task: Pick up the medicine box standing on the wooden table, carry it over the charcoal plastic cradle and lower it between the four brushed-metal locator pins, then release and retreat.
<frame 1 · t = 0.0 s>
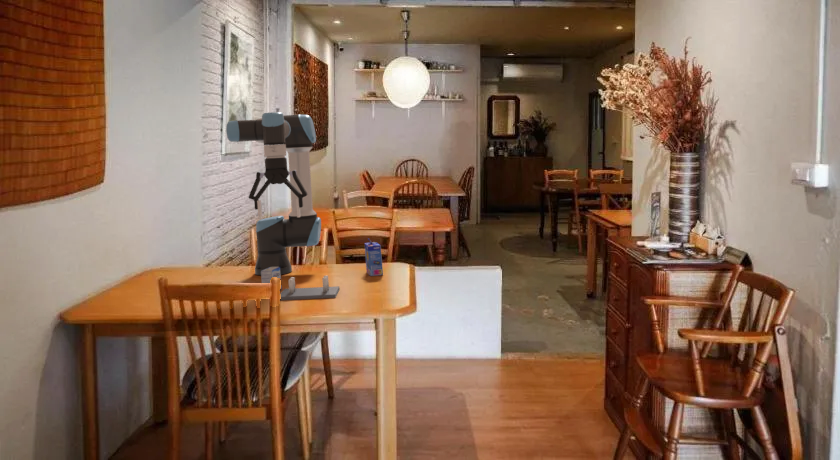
hand: (279, 218, 274), 28 cm above the table, fingers open, 13 cm apart
medicine box: (272, 292, 287), on the table
ink cartridge box: (374, 274, 313), on the table
cradle: (309, 294, 278), on the table
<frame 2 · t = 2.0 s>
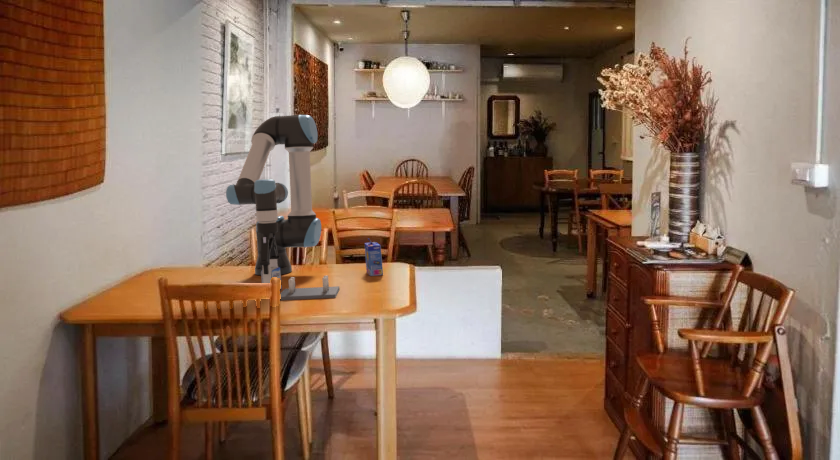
hand: (270, 279, 286), 4 cm above the table, fingers open, 13 cm apart
nothing on the table moved.
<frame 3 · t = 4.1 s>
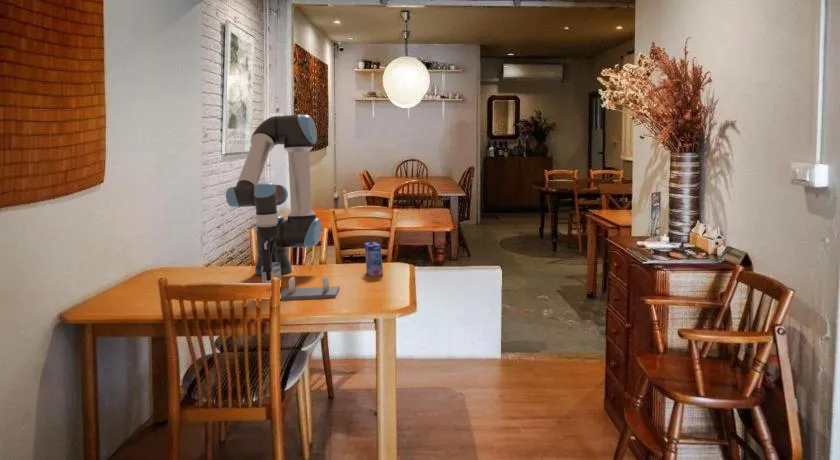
hand: (272, 286, 287), 2 cm above the table, fingers closed on medicine box, 8 cm apart
medicine box: (272, 287, 287), point 1 cm above the table, touching gripper
everything else where it was.
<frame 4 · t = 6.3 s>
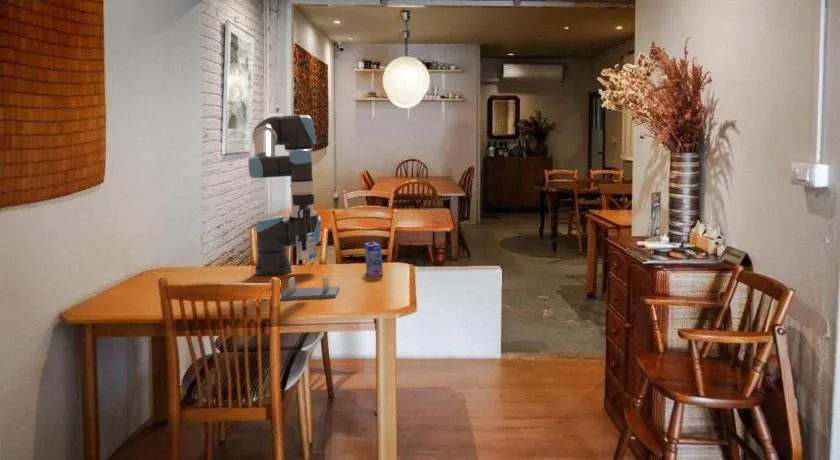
hand: (307, 257, 276), 14 cm above the table, fingers closed on medicine box, 8 cm apart
medicine box: (307, 258, 276), point 13 cm above the table, touching gripper
everything else where it was.
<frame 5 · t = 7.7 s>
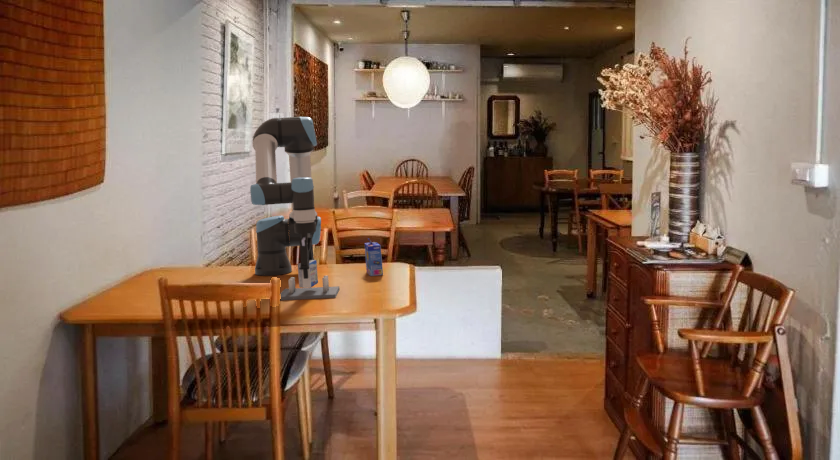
hand: (308, 284, 277), 4 cm above the table, fingers closed on medicine box, 8 cm apart
medicine box: (308, 286, 277), point 3 cm above the table, touching gripper
everything else where it was.
when the fingers open (3 cm above the table, at t = 8.6 s): medicine box drops 2 cm, resting on cradle.
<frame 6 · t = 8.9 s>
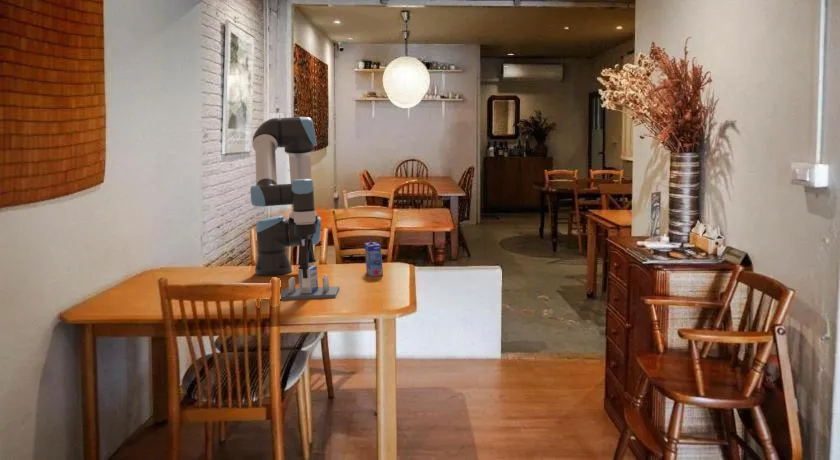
hand: (308, 283, 277), 4 cm above the table, fingers open, 11 cm apart
medicine box: (309, 292, 278), point 1 cm above the table, touching cradle
everything else where it was.
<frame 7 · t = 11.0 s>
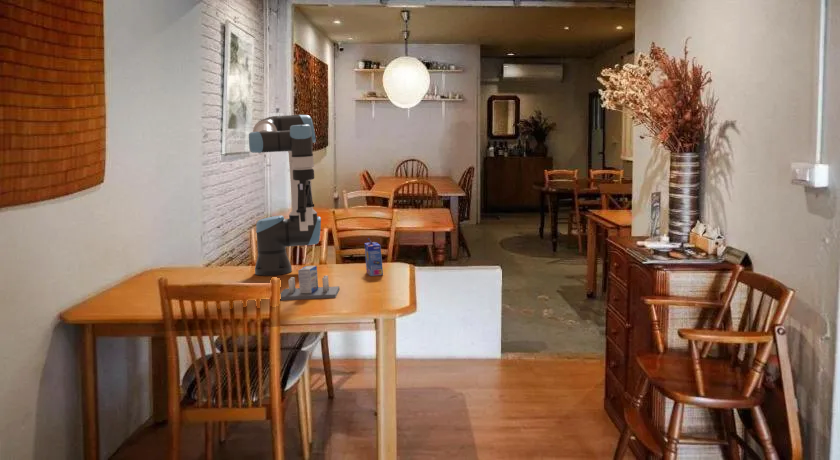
hand: (306, 227, 280), 23 cm above the table, fingers open, 13 cm apart
nothing on the table moved.
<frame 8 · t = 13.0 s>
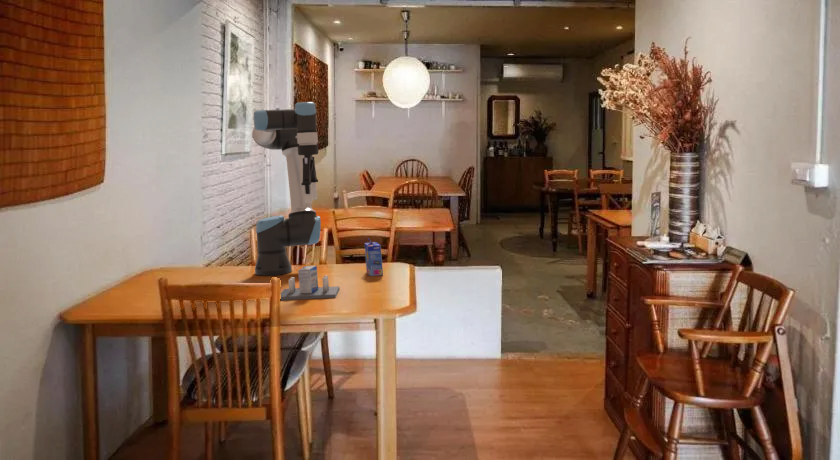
hand: (311, 201, 293), 32 cm above the table, fingers open, 13 cm apart
nothing on the table moved.
at the end: medicine box 0.1 cm off-centre on the cradle, point 1.0 cm above the cradle's base; medicine box tilted 0°; the gripper is holding nothing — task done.
